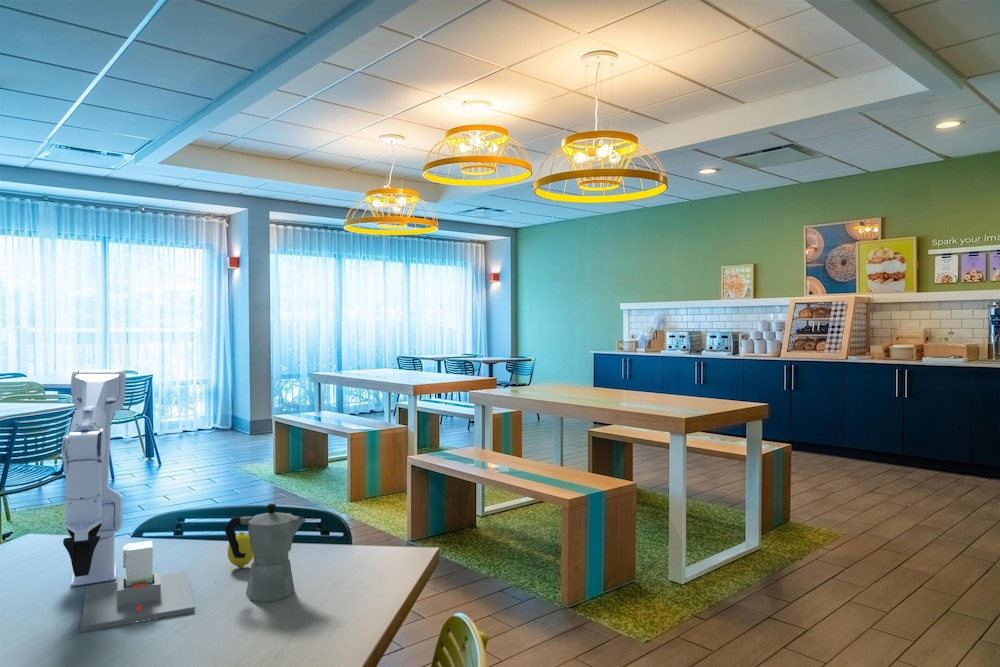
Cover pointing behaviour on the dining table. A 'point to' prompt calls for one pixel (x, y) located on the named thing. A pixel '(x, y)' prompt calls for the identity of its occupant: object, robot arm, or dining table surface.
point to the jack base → (136, 601)
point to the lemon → (241, 550)
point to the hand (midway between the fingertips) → (82, 568)
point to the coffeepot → (267, 552)
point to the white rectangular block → (138, 563)
